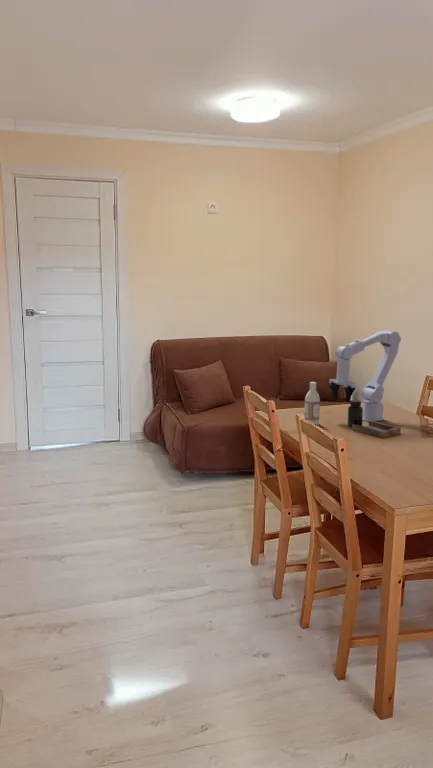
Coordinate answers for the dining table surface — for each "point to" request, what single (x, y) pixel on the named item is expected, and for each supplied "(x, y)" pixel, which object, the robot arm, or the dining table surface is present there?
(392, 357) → the robot arm
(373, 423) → the tray
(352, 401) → the supplement bottle
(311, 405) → the bath foam
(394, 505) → the dining table surface
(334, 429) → the dining table surface
